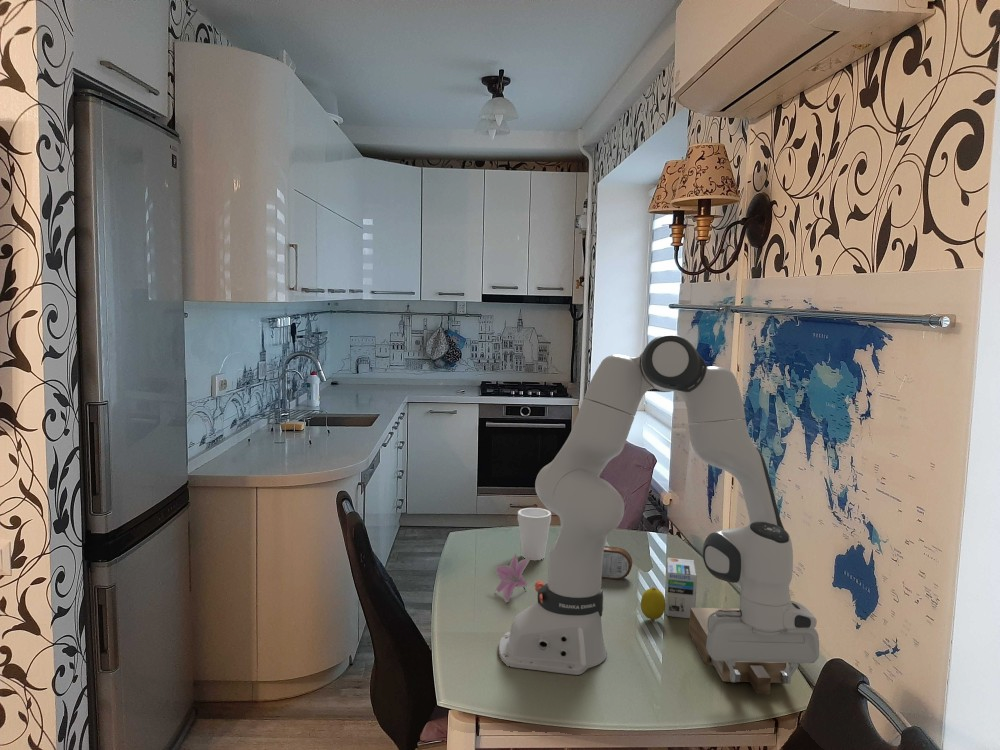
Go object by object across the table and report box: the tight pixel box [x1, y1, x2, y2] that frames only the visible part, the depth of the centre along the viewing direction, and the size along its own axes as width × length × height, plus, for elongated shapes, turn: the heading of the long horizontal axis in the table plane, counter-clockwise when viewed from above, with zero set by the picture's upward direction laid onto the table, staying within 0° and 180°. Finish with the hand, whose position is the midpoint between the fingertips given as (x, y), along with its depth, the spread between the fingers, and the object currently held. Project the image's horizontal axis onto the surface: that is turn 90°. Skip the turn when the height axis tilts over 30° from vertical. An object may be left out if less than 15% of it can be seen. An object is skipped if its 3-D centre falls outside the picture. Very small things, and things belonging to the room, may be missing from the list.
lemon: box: [640, 587, 666, 622], centre depth 169 cm, size 6×6×8 cm
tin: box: [601, 545, 633, 581], centre depth 194 cm, size 15×3×8 cm, turn 77°
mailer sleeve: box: [688, 607, 739, 666], centre depth 156 cm, size 14×14×6 cm
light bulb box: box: [665, 557, 698, 619], centre depth 175 cm, size 11×7×11 cm, turn 168°
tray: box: [710, 657, 787, 694], centre depth 145 cm, size 12×18×4 cm, turn 0°
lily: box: [494, 553, 530, 602], centre depth 182 cm, size 12×12×10 cm
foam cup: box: [517, 507, 552, 561], centre depth 208 cm, size 10×9×13 cm
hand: (759, 681), depth 138 cm, fingers open, 8 cm apart
